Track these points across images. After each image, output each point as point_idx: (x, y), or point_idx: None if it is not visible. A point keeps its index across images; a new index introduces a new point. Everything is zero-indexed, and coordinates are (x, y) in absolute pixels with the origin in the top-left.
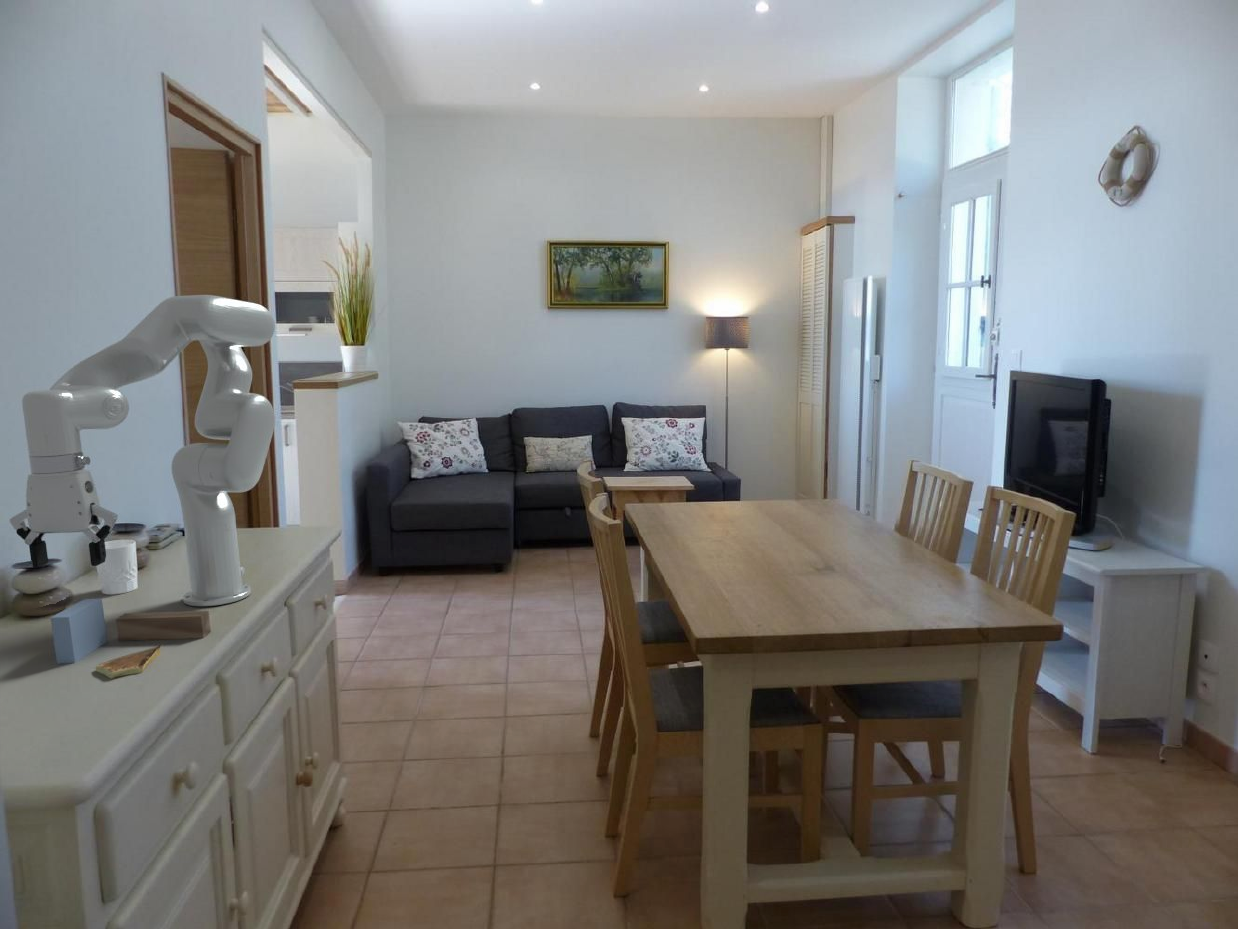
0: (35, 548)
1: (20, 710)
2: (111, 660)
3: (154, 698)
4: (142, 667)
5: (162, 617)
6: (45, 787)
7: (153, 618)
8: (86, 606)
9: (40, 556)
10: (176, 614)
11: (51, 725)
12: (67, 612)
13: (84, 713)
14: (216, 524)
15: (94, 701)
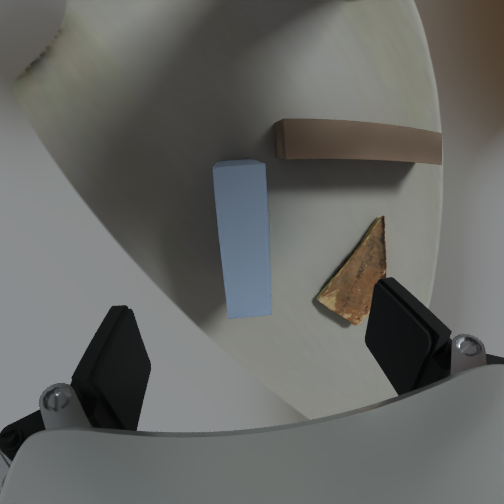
0: (135, 427)
1: (286, 392)
2: (335, 285)
3: None
4: None
5: (383, 159)
6: None
7: (367, 159)
8: (266, 238)
9: (136, 375)
10: (401, 144)
11: (335, 404)
12: (245, 285)
13: (355, 386)
14: None
15: (355, 367)
